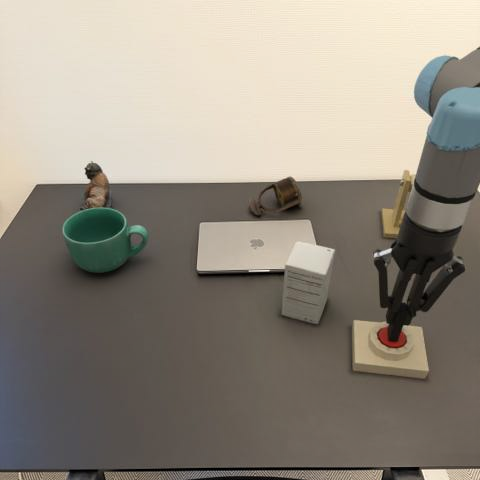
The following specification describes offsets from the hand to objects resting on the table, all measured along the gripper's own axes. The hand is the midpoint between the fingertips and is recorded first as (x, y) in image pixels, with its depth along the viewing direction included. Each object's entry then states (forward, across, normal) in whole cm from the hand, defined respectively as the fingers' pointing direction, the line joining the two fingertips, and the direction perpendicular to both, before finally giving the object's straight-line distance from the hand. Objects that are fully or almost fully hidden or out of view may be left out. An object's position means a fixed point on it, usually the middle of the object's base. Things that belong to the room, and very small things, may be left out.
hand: (392, 335), depth 79 cm
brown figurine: (+5, +66, -35) cm, 75 cm away
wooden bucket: (+5, +24, -43) cm, 50 cm away
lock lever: (-4, -6, -35) cm, 35 cm away
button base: (+5, 0, 0) cm, 5 cm away
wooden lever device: (+5, -6, -39) cm, 40 cm away
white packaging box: (+5, +15, -9) cm, 18 cm away
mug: (+5, +56, -17) cm, 59 cm away
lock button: (+2, 0, 0) cm, 2 cm away
